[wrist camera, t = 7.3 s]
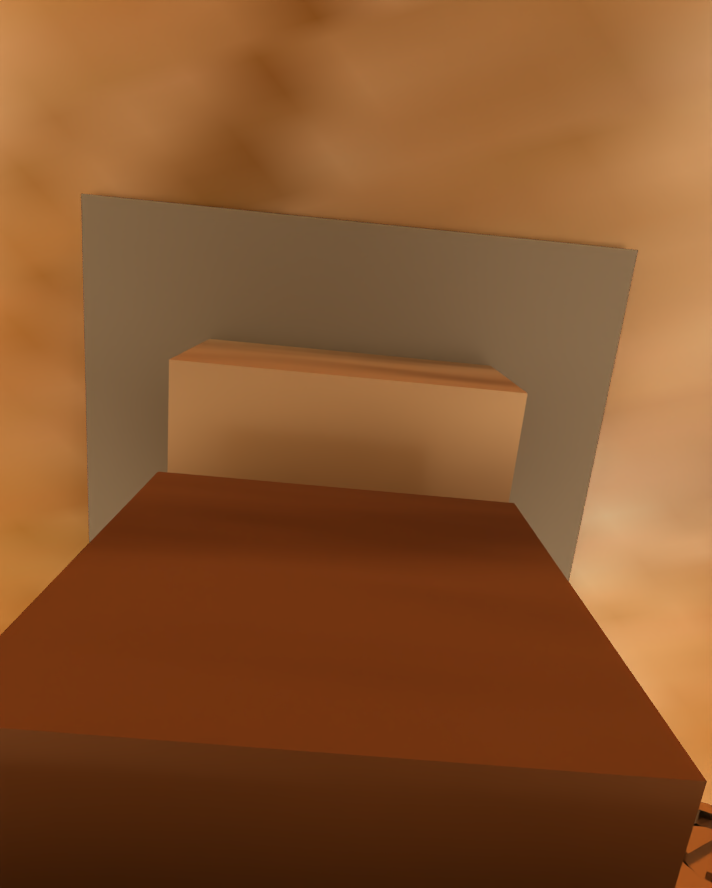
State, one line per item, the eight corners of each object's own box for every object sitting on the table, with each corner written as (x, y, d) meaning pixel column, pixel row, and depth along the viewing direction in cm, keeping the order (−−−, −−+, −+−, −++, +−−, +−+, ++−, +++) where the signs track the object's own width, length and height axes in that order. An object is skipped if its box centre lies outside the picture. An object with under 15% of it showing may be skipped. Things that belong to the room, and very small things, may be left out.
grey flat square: (93, 196, 17) (81, 193, 17) (625, 250, 18) (637, 250, 17) (101, 663, 22) (92, 677, 21) (534, 698, 22) (540, 713, 21)
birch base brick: (209, 338, 18) (169, 359, 14) (490, 365, 18) (527, 393, 14) (201, 592, 20) (164, 670, 16) (451, 613, 20) (475, 696, 16)
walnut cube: (158, 471, 10) (-84, 722, 5) (513, 503, 11) (707, 782, 5) (154, 767, 12) (-28, 1227, 6) (464, 790, 12) (564, 1259, 6)
